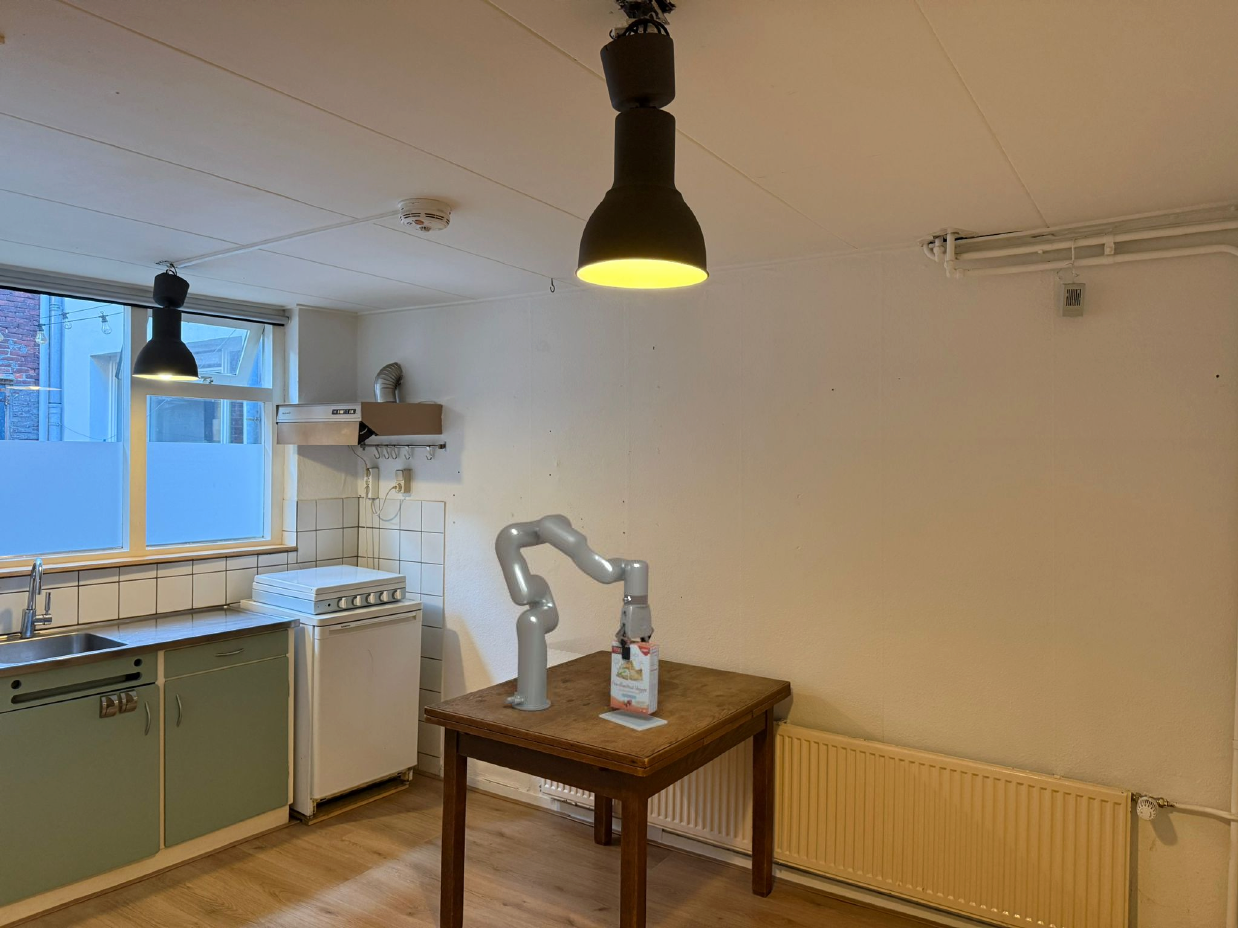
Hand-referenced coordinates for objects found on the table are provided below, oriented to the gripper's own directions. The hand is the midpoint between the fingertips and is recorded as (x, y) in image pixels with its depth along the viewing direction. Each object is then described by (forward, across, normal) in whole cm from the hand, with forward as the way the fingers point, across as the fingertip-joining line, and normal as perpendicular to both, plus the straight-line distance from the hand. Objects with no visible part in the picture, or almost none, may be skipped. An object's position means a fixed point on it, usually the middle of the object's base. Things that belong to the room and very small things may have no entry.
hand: (634, 657), depth 256 cm
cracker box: (+16, 0, 0) cm, 16 cm away
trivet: (+20, 0, 0) cm, 20 cm away
